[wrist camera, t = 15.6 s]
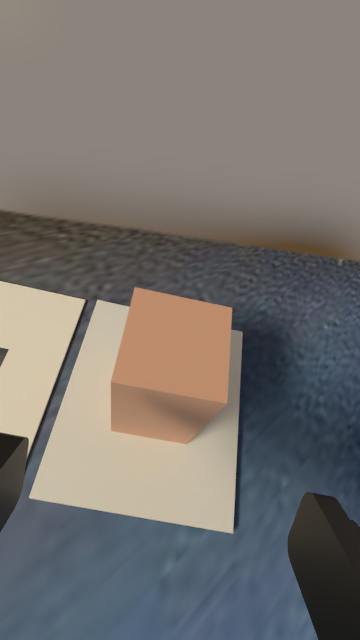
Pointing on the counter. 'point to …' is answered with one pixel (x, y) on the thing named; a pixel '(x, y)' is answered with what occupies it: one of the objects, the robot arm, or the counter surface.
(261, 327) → the counter surface
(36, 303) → the cream tile
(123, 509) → the beige board
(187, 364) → the block
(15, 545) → the counter surface
